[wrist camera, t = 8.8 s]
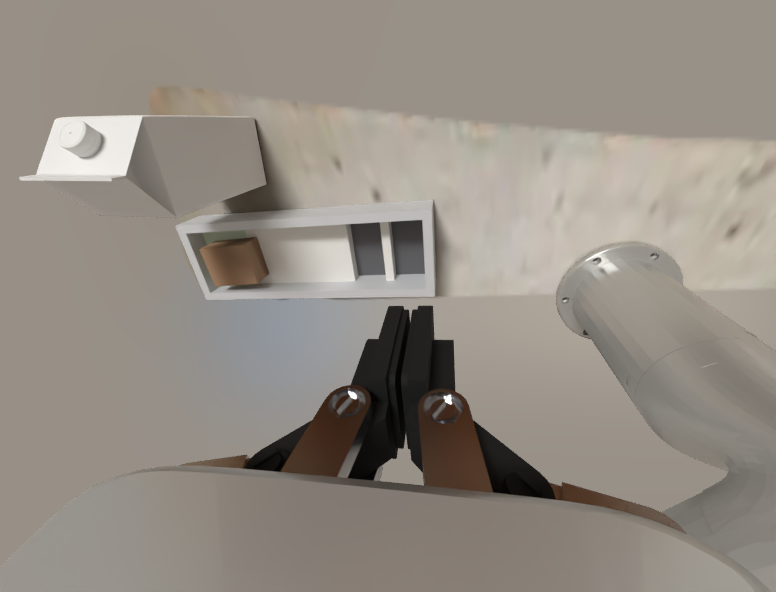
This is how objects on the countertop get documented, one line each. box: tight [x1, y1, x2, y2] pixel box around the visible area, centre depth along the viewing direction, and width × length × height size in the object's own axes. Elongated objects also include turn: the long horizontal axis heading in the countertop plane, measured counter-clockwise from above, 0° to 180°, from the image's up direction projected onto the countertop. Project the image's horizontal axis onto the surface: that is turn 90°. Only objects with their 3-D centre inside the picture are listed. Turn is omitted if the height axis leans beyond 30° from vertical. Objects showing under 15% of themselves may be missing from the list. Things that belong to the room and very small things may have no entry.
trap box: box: [176, 200, 436, 300], centre depth 39 cm, size 30×10×4 cm, turn 96°
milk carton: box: [19, 115, 267, 218], centre depth 29 cm, size 7×7×19 cm
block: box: [199, 237, 270, 287], centre depth 40 cm, size 6×5×3 cm
